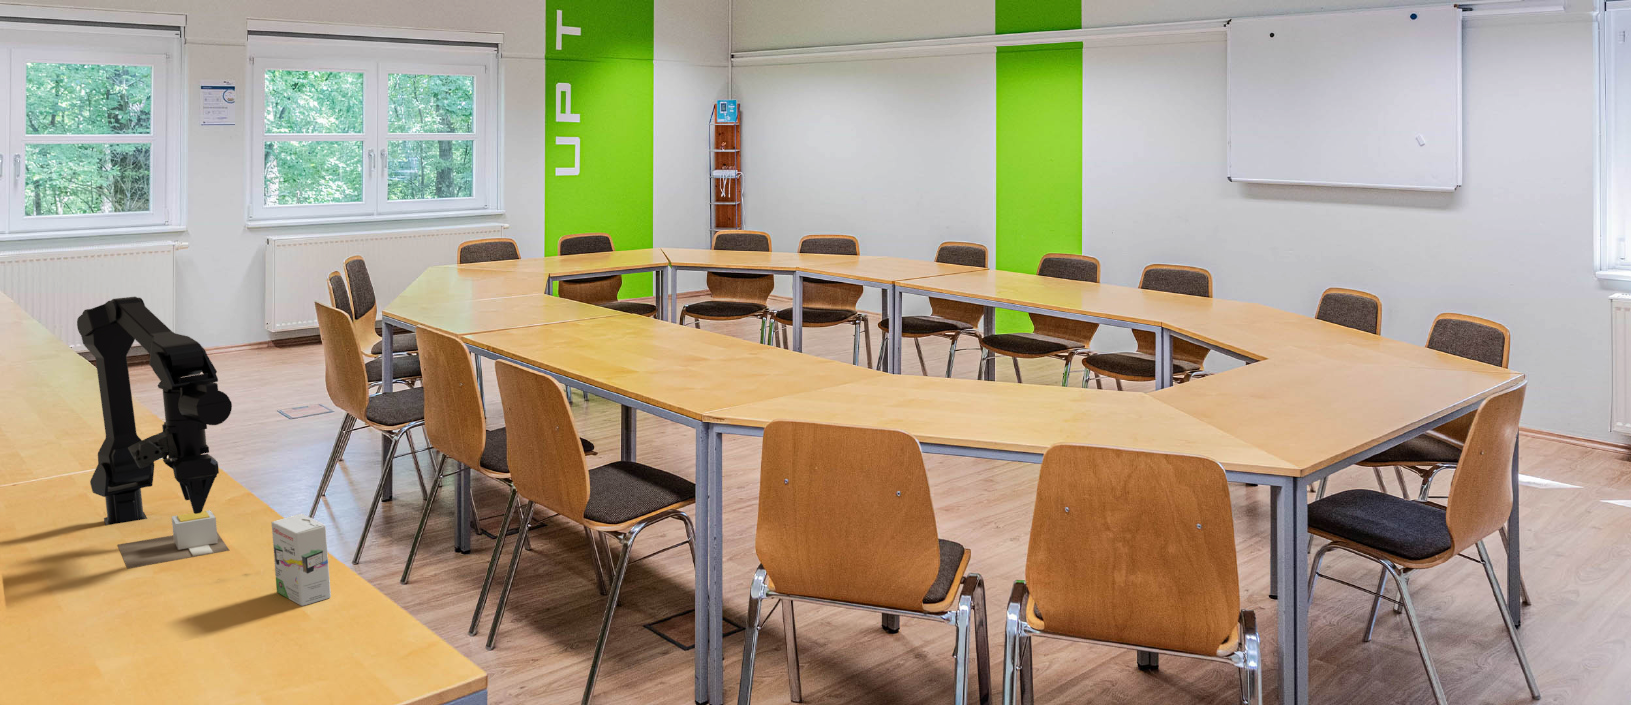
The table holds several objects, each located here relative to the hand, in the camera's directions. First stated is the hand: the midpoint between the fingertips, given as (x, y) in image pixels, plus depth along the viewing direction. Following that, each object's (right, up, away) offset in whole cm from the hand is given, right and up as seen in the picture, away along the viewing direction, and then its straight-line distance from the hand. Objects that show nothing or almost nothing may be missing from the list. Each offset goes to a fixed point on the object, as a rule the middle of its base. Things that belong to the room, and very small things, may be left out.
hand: (193, 506), depth 202 cm
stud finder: (0, -6, +1) cm, 6 cm away
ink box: (+27, -12, -18) cm, 34 cm away
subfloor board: (-3, -8, -1) cm, 9 cm away
